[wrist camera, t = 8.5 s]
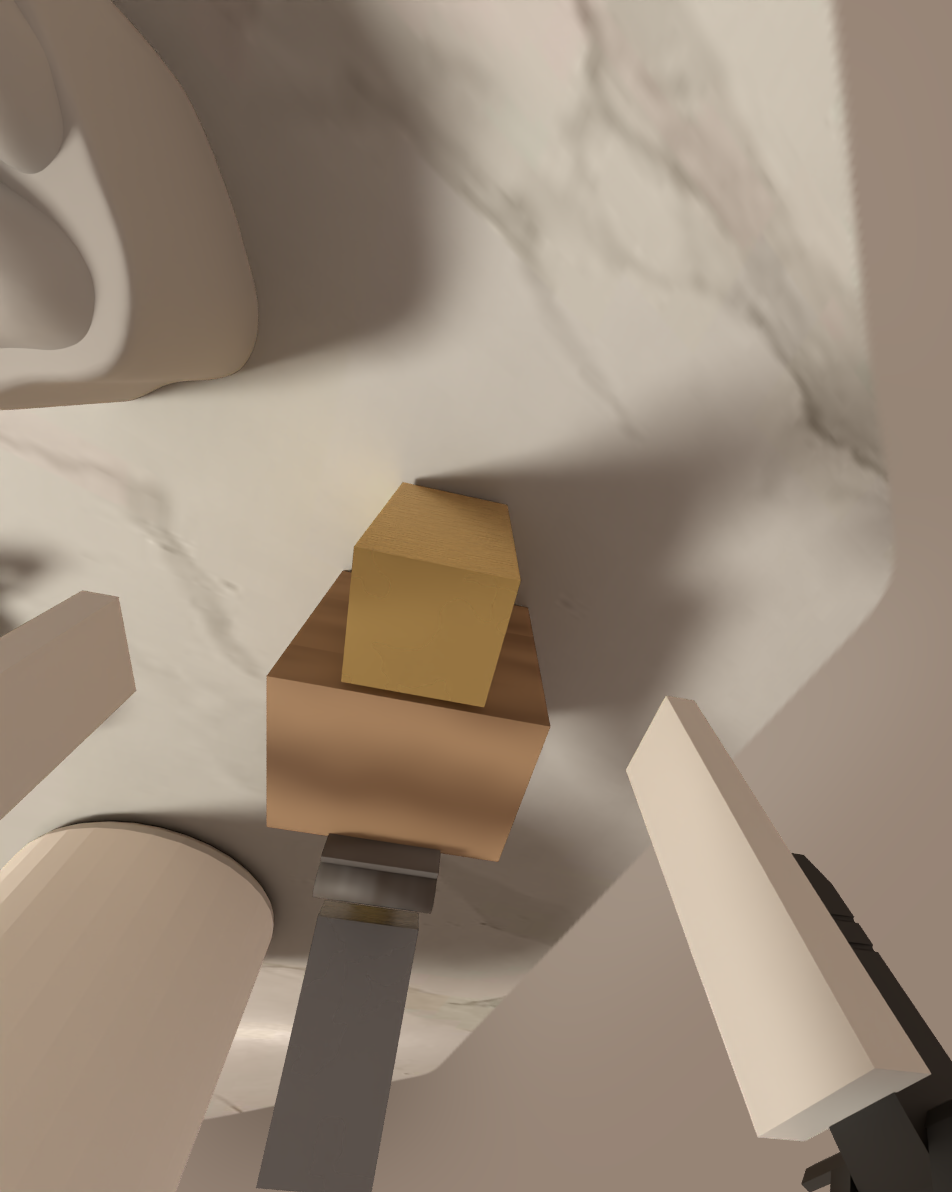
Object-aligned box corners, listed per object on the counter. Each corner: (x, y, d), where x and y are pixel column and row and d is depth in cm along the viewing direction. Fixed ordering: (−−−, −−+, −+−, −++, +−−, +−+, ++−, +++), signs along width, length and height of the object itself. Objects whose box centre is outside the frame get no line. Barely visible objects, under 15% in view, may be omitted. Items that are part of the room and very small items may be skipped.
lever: (325, 900, 19) (317, 916, 17) (418, 912, 19) (418, 929, 18) (269, 1148, 17) (255, 1187, 15) (374, 1157, 17) (370, 1197, 16)
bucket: (316, 974, 42) (125, 1658, 20) (88, 972, 43) (-352, 1635, 20) (249, 788, 31) (-395, 1922, 8) (-62, 787, 31) (-1470, 1852, 9)
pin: (402, 482, 20) (353, 546, 13) (507, 505, 21) (520, 580, 13) (363, 765, 29) (319, 907, 21) (438, 778, 29) (422, 921, 22)
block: (342, 570, 23) (240, 712, 13) (527, 607, 24) (557, 766, 14) (330, 712, 27) (246, 896, 18) (487, 739, 28) (489, 930, 18)
